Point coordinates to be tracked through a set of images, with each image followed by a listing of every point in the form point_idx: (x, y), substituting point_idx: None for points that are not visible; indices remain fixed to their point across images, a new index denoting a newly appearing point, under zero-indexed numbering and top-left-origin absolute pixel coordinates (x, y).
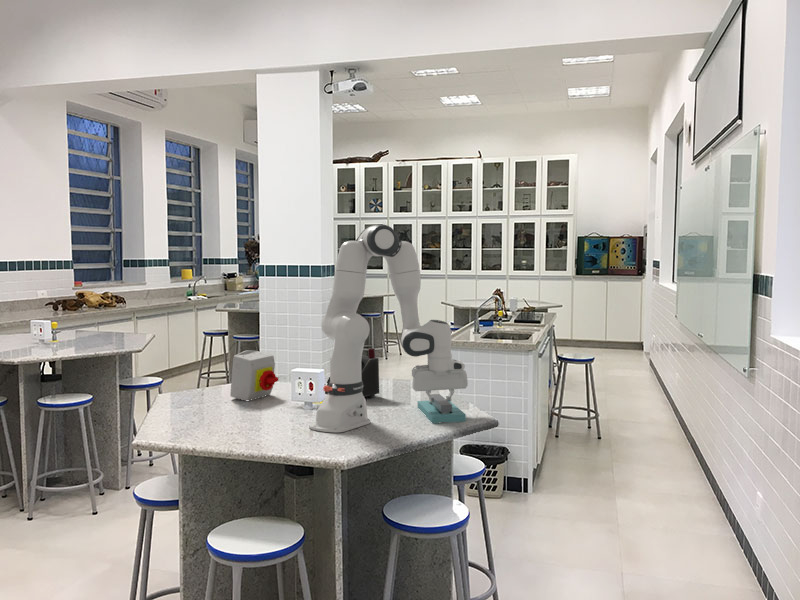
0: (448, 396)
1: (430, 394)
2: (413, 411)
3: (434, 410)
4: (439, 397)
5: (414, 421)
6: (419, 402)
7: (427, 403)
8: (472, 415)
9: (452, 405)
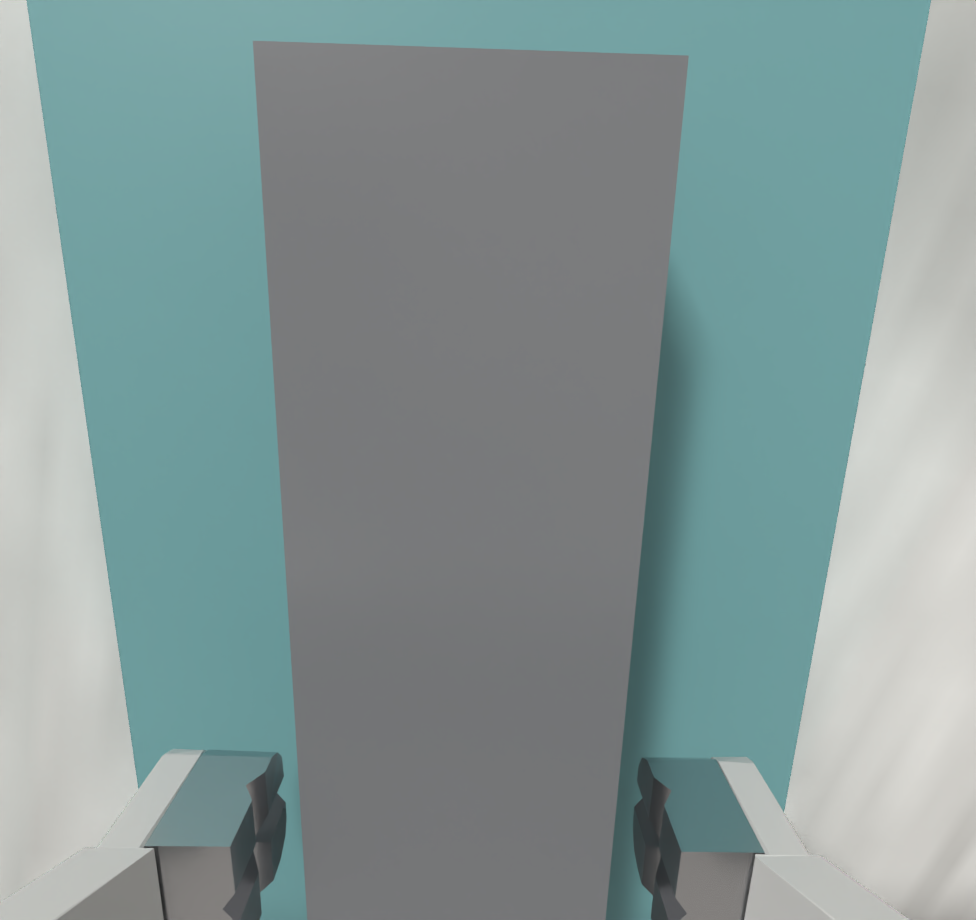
0: (727, 914)
1: (307, 52)
2: (12, 298)
3: (297, 876)
4: (506, 631)
5: (3, 893)
6: (56, 74)
7: (258, 266)
8: (912, 810)
9: (763, 616)
